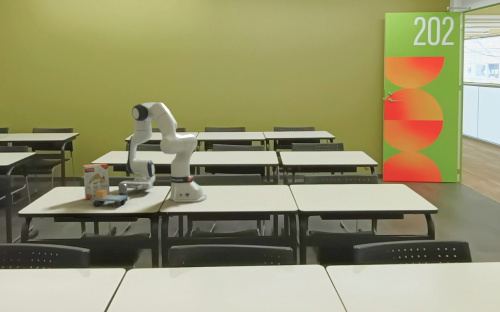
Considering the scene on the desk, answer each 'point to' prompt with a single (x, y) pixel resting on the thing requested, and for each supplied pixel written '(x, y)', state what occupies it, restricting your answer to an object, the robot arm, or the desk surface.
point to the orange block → (100, 193)
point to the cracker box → (95, 178)
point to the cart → (107, 197)
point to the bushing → (123, 189)
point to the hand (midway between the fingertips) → (130, 187)
